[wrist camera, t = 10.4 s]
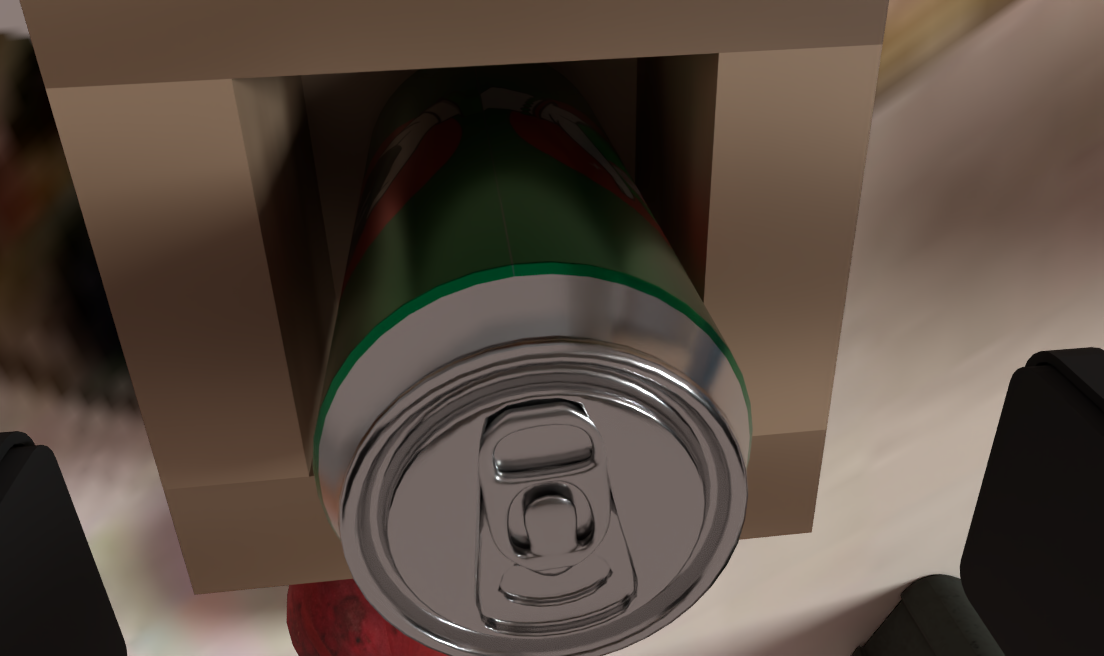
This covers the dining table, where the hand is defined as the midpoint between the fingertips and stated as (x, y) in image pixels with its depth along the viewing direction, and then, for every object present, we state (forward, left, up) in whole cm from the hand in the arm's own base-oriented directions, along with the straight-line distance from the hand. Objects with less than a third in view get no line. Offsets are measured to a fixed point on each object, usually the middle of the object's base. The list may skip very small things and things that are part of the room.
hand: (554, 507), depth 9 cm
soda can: (0, 0, -12) cm, 12 cm away
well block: (0, 0, -13) cm, 13 cm away
